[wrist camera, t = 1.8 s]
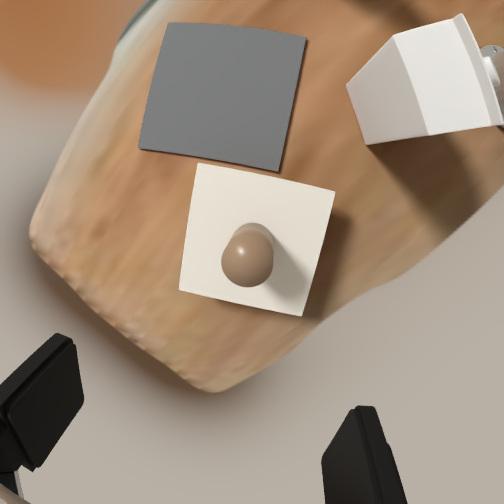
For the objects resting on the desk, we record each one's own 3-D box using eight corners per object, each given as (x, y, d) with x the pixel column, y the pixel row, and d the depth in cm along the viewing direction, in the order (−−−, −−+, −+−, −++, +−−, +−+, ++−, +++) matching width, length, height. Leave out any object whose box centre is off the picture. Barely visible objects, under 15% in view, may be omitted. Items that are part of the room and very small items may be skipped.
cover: (333, 191, 28) (350, 199, 22) (301, 312, 32) (306, 348, 25) (200, 162, 28) (178, 163, 22) (180, 286, 32) (159, 316, 25)
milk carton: (365, 145, 30) (461, 131, 12) (344, 85, 29) (415, 11, 10) (418, 133, 29) (534, 120, 11) (399, 75, 28) (497, 17, 9)
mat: (305, 38, 27) (306, 37, 27) (278, 171, 32) (278, 171, 31) (169, 23, 27) (168, 22, 27) (139, 148, 32) (137, 148, 32)
